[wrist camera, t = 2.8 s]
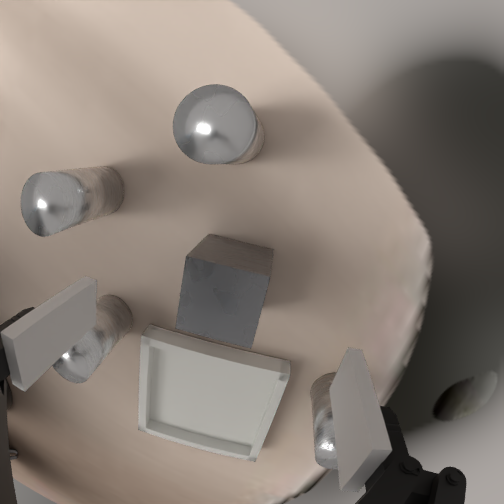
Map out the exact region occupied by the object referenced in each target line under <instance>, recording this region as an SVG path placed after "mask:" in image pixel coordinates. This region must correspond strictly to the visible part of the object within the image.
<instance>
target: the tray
mask: <svg viewBox="0 0 504 504" xmlns="http://www.w3.org/2000/svg"><path fill="white" fill-rule="evenodd" d="M289 377H290V361H288V360H283V359H279V358H274V357H269V356H265V355H261V354H256V353H252V352H248V351H244V350H240V349H236V348H232V347H228V346H224V345H220V344H216V343H212V342H209V341H205V340H201V339H198V338H194V337H191V336H187V335H184V334H180V333H177V332H173V331H170V330H167V329H163V328H160V327H157V326H154V325H149V326H148V327H147V329H146V330H145V331H144V332H143V334H142V335H141V347H140V368H139V404H138V430H140V431H143V432H146V433H149V434H152V435H155V436H158V437H161V438H164V439H167V440H170V441H173V442H177V443H180V444H183V445H187V446H190V447H194V448H198V449H201V450H205V451H209V452H213V453H217V454H221V455H225V456H230V457H234V458H239V459H244V460H249V461H254V462H255V461H256V459H257V456H258V454H259V452H260V449H261V447H262V445H263V442H264V440H265V438H266V435H267V433H268V430H269V428H270V426H271V423H272V421H273V418H274V416H275V413H276V411H277V408H278V406H279V403H280V401H281V398H282V395H283V393H284V390H285V388H286V385H287V382H288V380H289Z"/></svg>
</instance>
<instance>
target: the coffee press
mask: <svg viewBox="0 0 504 504" xmlns="http://www.w3.org/2000/svg"><path fill="white" fill-rule="evenodd" d="M9 452H10V453H16V454H17V455H16V456H10V460H12V459H17V458H18V452H17V451H16V450H13V449H9Z"/></svg>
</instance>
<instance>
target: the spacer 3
mask: <svg viewBox="0 0 504 504" xmlns="http://www.w3.org/2000/svg"><path fill="white" fill-rule="evenodd" d="M173 133H174V137H175V140H176V143H177V144H178V146H179V148H180V149H181V150H182V152H183V153H184V154H185V155H187V156H188V157H189V158H191V159H193V160H195V161H197V162H200V163H204V164H241V163H245V162H248V161H250V160H251V159H253V158H254V157H255V156H256V155H257V154H258V153H259V152H260V150H261V148H262V146H263V143H264V130H263V127H262V124H261V123H260V121H259V119H258V118H257V116H256V114H255V112H254V111H253V109H252V107H251V106H250V104H249V102H248V101H247V99H246V98H245V97H244V96H243V95H242V94H241V93H240V92H238V91H237V90H235V89H233V88H231V87H228V86H224V85H217V84H216V85H206V86H203V87H200V88H198V89H196V90H194V91H192V92H191V93H189V94H188V95H187V96H186V97H185V98H184V99H183V100H182V102H181V103H180V104H179V106H178V108H177V110H176V112H175V115H174V120H173Z"/></svg>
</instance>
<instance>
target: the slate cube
mask: <svg viewBox="0 0 504 504" xmlns="http://www.w3.org/2000/svg"><path fill="white" fill-rule="evenodd" d="M273 252H274V250H273V249H269V248H265V247H261V246H257V245H253V244H249V243H245V242H241V241H236V240H232V239H228V238H224V237H220V236H216V235H212V234H208V235H207V236H206V237H205V238H204V239H203V240H202V241H201V242H200V243H199V244H198V245H197V246H196V247H195V248H194V249H193V250H192V251H191V252H190V253H189V254H188V255H187V256H186V261H185V267H184V273H183V280H182V286H181V293H180V300H179V307H178V314H177V321H176V329H179V330H183V331H186V332H190V333H193V334H197V335H201V336H204V337H208V338H212V339H216V340H219V341H223V342H227V343H231V344H235V345H239V346H243V347H247V348H251V347H252V344H253V340H254V336H255V333H256V329H257V325H258V322H259V318H260V314H261V310H262V307H263V303H264V299H265V295H266V292H267V288H268V284H269V280H270V276H271V268H272V260H273Z"/></svg>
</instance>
